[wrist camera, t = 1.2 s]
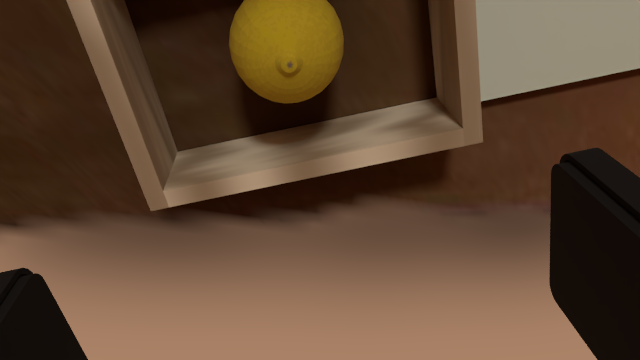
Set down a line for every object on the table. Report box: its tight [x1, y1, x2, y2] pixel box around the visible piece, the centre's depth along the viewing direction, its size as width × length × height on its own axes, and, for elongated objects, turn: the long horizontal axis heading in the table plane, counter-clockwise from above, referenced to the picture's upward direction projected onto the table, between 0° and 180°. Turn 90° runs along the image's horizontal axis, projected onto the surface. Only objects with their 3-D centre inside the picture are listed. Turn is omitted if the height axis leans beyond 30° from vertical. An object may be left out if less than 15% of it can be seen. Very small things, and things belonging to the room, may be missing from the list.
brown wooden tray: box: [67, 0, 483, 211], centre depth 28 cm, size 18×14×5 cm
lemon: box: [229, 0, 344, 103], centre depth 26 cm, size 6×6×8 cm
